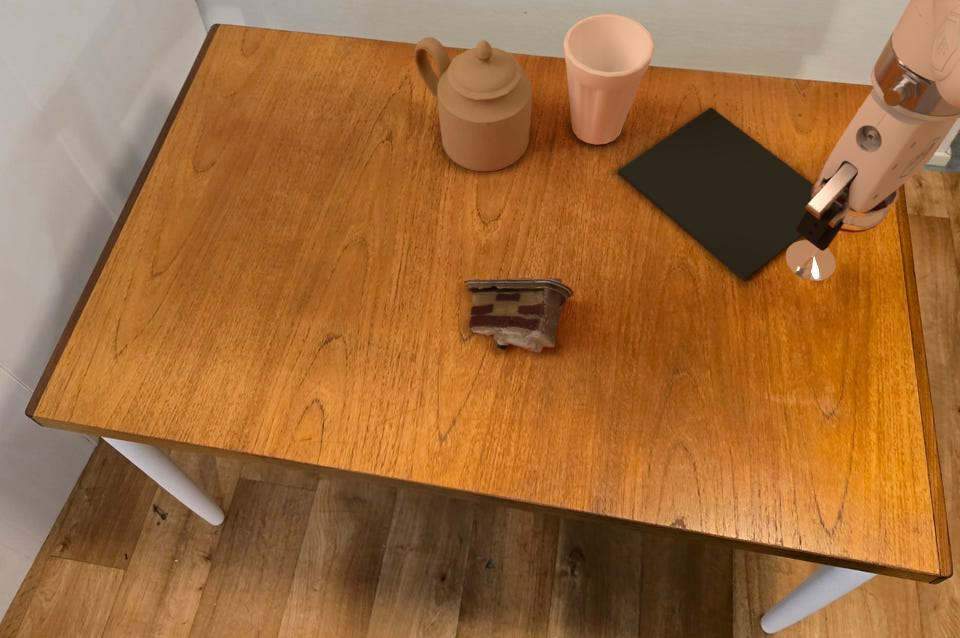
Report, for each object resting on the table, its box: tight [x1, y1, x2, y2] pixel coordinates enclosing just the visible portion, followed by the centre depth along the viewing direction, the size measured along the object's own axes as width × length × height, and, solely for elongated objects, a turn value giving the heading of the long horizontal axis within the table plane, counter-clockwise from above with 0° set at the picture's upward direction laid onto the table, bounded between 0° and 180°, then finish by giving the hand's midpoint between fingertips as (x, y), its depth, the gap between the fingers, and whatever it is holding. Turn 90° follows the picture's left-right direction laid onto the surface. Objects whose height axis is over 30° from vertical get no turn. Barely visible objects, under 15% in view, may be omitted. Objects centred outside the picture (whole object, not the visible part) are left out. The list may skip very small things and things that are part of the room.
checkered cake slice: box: [462, 277, 575, 353], centre depth 78 cm, size 10×7×12 cm
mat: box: [617, 107, 814, 282], centre depth 88 cm, size 20×16×1 cm
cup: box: [563, 13, 656, 146], centre depth 88 cm, size 10×10×13 cm
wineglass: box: [785, 175, 900, 282], centre depth 71 cm, size 7×7×12 cm
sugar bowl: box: [413, 36, 533, 173], centre depth 87 cm, size 15×11×15 cm
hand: (838, 217), depth 70 cm, fingers closed on wineglass, 6 cm apart
